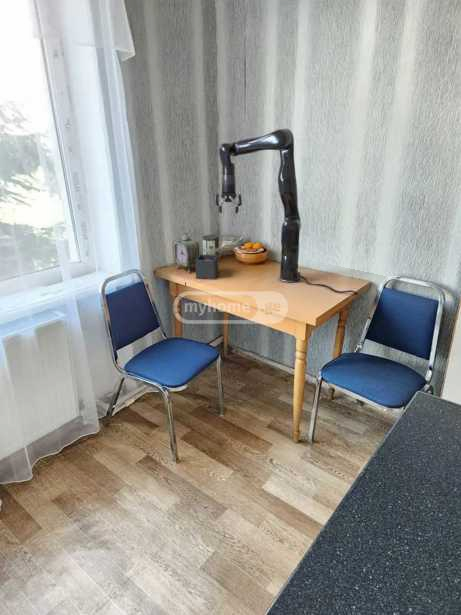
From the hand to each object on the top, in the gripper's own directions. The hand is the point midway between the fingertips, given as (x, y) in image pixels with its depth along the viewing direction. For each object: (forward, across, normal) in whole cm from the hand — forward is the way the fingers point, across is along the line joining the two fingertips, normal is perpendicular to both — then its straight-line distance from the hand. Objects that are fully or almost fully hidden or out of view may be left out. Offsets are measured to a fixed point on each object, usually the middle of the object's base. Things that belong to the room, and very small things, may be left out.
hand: (228, 213), depth 219 cm
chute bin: (+32, -10, -15) cm, 37 cm away
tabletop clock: (+32, -24, -6) cm, 41 cm away
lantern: (+32, -14, +16) cm, 39 cm away
